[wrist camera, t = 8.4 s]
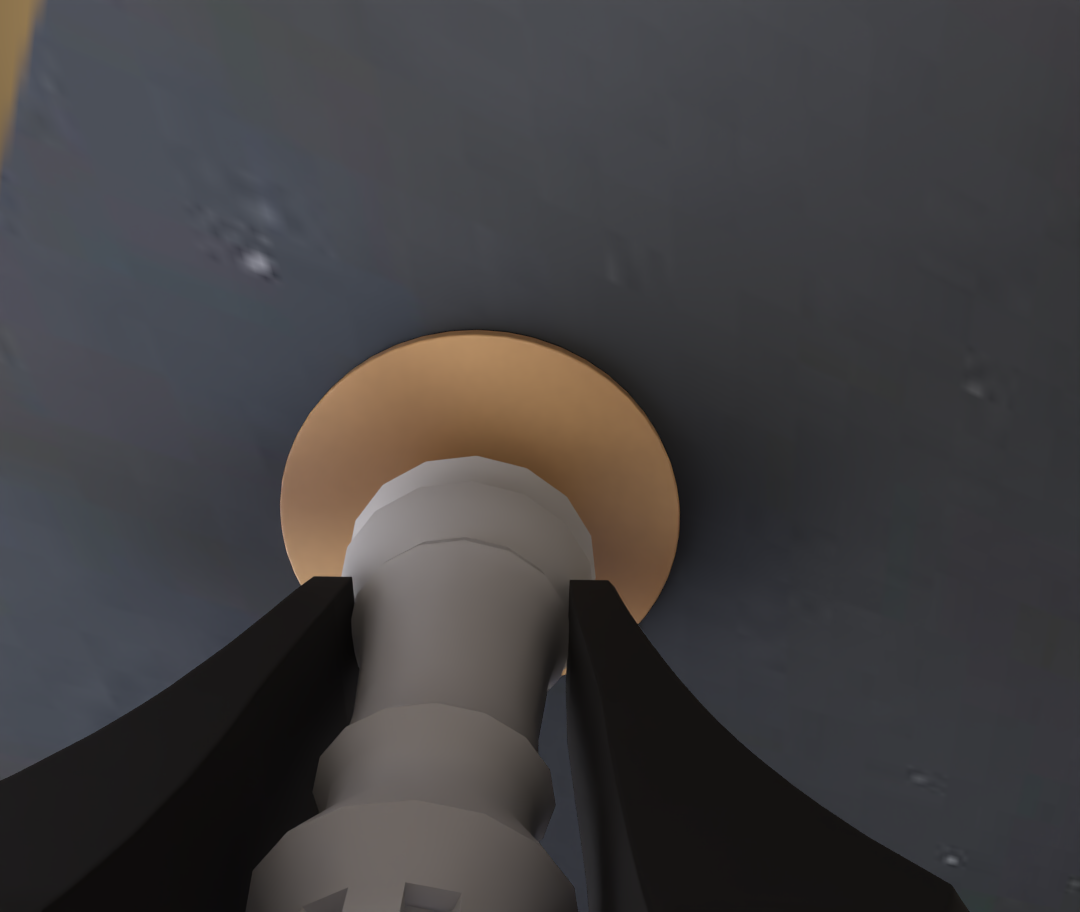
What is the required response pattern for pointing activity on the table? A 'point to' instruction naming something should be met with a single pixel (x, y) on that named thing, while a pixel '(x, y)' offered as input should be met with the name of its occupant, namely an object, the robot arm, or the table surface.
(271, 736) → the robot arm
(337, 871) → the rook chess piece
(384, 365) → the coaster
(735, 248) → the table surface
